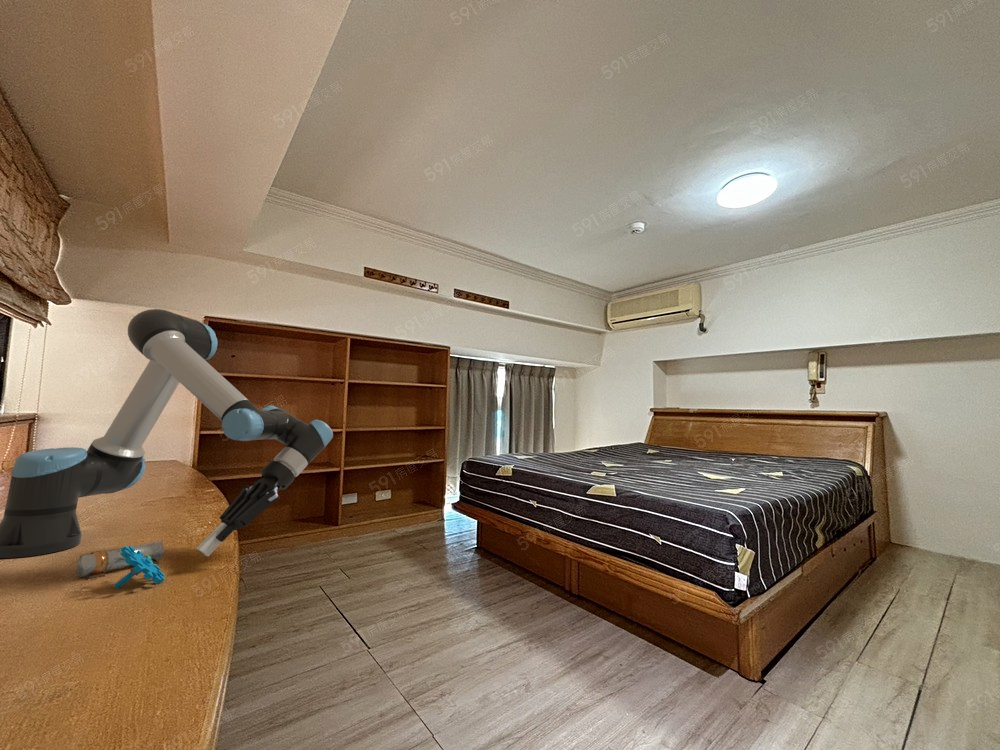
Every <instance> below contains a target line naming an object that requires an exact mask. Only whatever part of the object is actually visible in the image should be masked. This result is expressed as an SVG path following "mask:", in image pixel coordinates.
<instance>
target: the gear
mask: <svg viewBox="0 0 1000 750" xmlns="http://www.w3.org/2000/svg"><path fill="white" fill-rule="evenodd" d="M120 549H121V548H120ZM121 551H122V553H121V555H122V556H123V557H125V558H126V559H125V561H126V563H127V564H129V565H133V567H132V568H130V572H128V573H127V574H126V575H124V577H122V578H121V579H120V580H119V581H117V582H116V583H115V584H114V585H113V587H115V589H117V588H118V589H120V588H121V587H123V585H125V584H126V583H128V582H129V581H130V580H131V579H132V578H133V577H134V576H135V577H136V576H138V575H139V574H141V573H143V574H144V575H143V578H144V579H146V580H147V581H149V580H151V581H152V583H154V584H157V585H158V584H162V583H163V582H164V581H165V580H166V577H165V573H164V572H162V571H161V567H160V566H158V564H157V565H154V564H153V561H152V560H151V557H150V556H148V555H147V556H146V557H143V556H142V555H144V554H143V553H142V552H141V551H139V550H138V551H137V552H135V549H134V548H133V547H132V546H131V545H129V546H127V545H125V546H122V549H121ZM161 582H162V583H161Z"/></svg>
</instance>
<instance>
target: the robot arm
mask: <svg viewBox="0 0 1000 750" xmlns="http://www.w3.org/2000/svg"><path fill="white" fill-rule="evenodd" d="M127 336H128V339H129V341H130V342H131V344H132V345H133V346H134V348H135V349H136V350H137V351H138V352H139V353H141V354H142V355H143V356H144V357H145V359H147V360H149V362H148V363H147V365H146V367H145V368H144V370H143V372H142V373H141V375H140V376H139V378H138V379H137V381H136V383H135V385H134V386H133V388H132V389H131V391H130V392H129V395H127V398H126V399H125V401H124V403H123V404H122V406H121V408H120V410H119V411H118V413H116V416H115V418H114V419H113V420H112V422H111V424H110V425H109V428H108V429H107V430H106V432H105V434H104V435H103V436H102V437H98V438H95V439H93V440H92V442H91V443H90V445H89V447H88V448H87V449H85V448H83V447H75V446H74V447H57V448H43V449H37V450H31V451H28V452H23V453H21V454H20V455H18V457H17V458H16V459H15V461H14V462H15V463H14V466H13V467H12V468H13V469H12V470H11V472H10V475H11V477H10V481H9V482H10V483H9V489H8V493H7V499H6V503H5V507H4V508H5V509H4V514H3V518H2V520H0V559H10V558H13V559H14V558H23V557H31V556H40V555H47V554H51V553H52V554H53V553H56V552H60V551H65V550H68V549H71V548H74V546H75V547H76V545H77V546H79V545H80V544H81V540H82V530H81V527H80V523H79V522H80V521H79V519H78V516H77V508H78V507H77V506H78V502H79V499H80V498H86V497H91V496H96V495H102V494H103V495H105V494H106V495H107V494H115V493H118V492H121V491H124V490H127V489H129V488H131V487H134V485H136V484H137V483H138V482H139V481H140V480H141V479H142V478H143V476H144V473H145V471H146V467H147V466H146V465H145V463H146V458H145V456H144V455H145V454H146V452H145V450H144V448H143V445H144V443H145V441H146V440H147V438H148V436H149V435H150V433H151V431H152V430H153V428H154V427H155V424H156V423H157V421H158V419H159V418H160V417H161V414H162V413H163V411H164V410H165V408H166V406H167V405H168V403H169V401H170V400H171V398H172V396H173V394H174V393H175V392H176V389H177V388H178V386H179V384H181V385H182V386H183V387H184V388H185V389H187V391H188V392H190V393H191V394H192V395H193V396H194V397H195V398H196V399H197V400H198V401H200V402H201V404H202V405H204V406H205V407H206V408H208V410H209V411H211V413H213V414H214V415H215V416H216V417H217V418H218V420H220V421H221V428H222V432H223V434H224V435H225V436H226V437H227V438H228V439H230V440H233V441H239V442H240V441H241V442H249V441H258V440H259V441H260V440H276V441H278V442H279V443H281V444H284V445H285V447H284V448H283V449H282V450H280V452H278V454H276V455H275V457H274V458H273V460H271V461H269V462H268V463H267V464H266V465H265V467H263V468H262V469H261V471H260V474H261V478H260V479H258V480H256V481H255V482H254V483H253V485H251V486H249V485H248V484H245V485H244V486H242V489H241V490H240V492H239V494H237V496H236V497H235V498H234V500H233V501H231V503H230V504H229V506H228V507H227V508H226V509H225V510H224V512H223V513H222V514H221V515H220V516H219V519H220V522H221V523H220V524H219V525H218V526H217V527H216V528H214V530H213V531H212V532H211V533H210V534H209V535H208V536H207V537H206V538H205V539H204V540H203V541H202V542H201V543H200V544H199V545H198V546H196V550H198V551H199V552H200V553H201V554H202V555H204V556H205V557H209V556H210V555H211V554H213V553H214V551H215V550H216V549H217V548H218V547H219V546H220V545H221V544H222V543H223V542H224V541H225V540H226V539H227V538H228V537H229V536H230V535H231V534H232V532H234V531H237V530H238V529H241V530H244V529H245V527H247V526H249V525H250V523H252V522H253V521H254V520H255V519H256V518H257V517H258V516H260V515H261V514H262V513H263V512H264V511H265V510H267V509H268V508H269V507H270V506H272V504H275V503H276V502H278V501H279V500H280V498H281V497H280V495H279V494H278V492H279V491H280V490H281V491H284V490H286V489H287V488H288V487H289V486H290V485H291V484H292V483H293V482H294V480H295V478H296V477H298V476H299V475H300V474H301V473H303V471H304V469H306V468H307V466H308V465H309V464H310V463H311V462H312V461H313V460H314V459H315V458H316V457H317V456H318V455H319V454H320V453H321V452H322V451H323V450H324V449H326V446H328V444H329V443H330V442H331V440H332V439H333V437H334V431H333V430H332V428H331V427H330V426H329V424H327V423H326V422H324V421H322V420H319V419H313V420H312V421H310V422H308V423H307V422H304V421H302V420H300V419H298V418H297V417H296V416H294V415H292V414H290V413H288V412H287V411H286V410H284V409H282V408H279V407H277V406H275V405H267V406H266V407H263V408H261V409H259V408H258V407H257V406H256V405H255V404H254V403H253V402H251V400H249V399H248V398H247V397H246V396H245V395H244V394H243V393H241V391H239V390H238V388H236V387H235V386H234V385H233V384H232V383H231V382H230V381H229V380H227V379H226V378H225V377H224V376H223V375H222V374H220V372H218V371H217V370H216V369H215V368H214V367H213V366H212V365H211V364H210V363H209V362H208V361H207V360H210V359H211V358H213V357H214V355H215V354H216V351H217V350H218V338H217V336H216V332H215V330H214V329H212V327H211V326H209V325H207V324H205V323H203V322H202V321H199V320H197V319H193V318H190V317H187V316H184V315H181V314H177V313H174V312H172V311H170V310H166V309H162V308H161V309H160V308H152V309H146V310H142V311H141V312H139V313H137V314H136V315H134V316H133V317H132V318H131V319H130V321H129V323H128V325H127Z"/></svg>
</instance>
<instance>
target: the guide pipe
mask: <svg viewBox="0 0 1000 750" xmlns="http://www.w3.org/2000/svg"><path fill="white" fill-rule="evenodd" d="M131 547H133V548H134V549H135V552H137V551H138V550H139V551H141V552H142V553H143V554H144V555H142V556H143V557H146V556H147V555H148V556H150V557H151V560H152V561H153V564H157V565H160V564H159V563H160V560H162V558H163V556H164V552H165V548H164V543H163V542H162V541H161V540H160V541H155V542H150V543H149V542H148V543H142V544H137V545H133V546H131ZM122 548H123V547H122ZM122 548H116V549H112V550H105V549H103V550H96V551H92V552H90V553H89V554H84V555H83V554H82V555H80V556H79V557H78V560H77V562H76V563H77V564H76V573H77V576H78V577H79V578H82V577H83V576H84V577H83V578H85V577H86V578H87V580H88V579H90V580H93V579H92V578H94V579H97V577H99V578H102V577H101V576H103V577H105V576H106V572H108V571H113V570H119V569H123V568H127V567H132V566H133V565H129V564H127V563H126V561H125V559H126V558H125V557H123V556H122V555H121V553H122V551H121V549H122ZM133 567H134V566H133ZM86 578H85V579H86Z"/></svg>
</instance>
